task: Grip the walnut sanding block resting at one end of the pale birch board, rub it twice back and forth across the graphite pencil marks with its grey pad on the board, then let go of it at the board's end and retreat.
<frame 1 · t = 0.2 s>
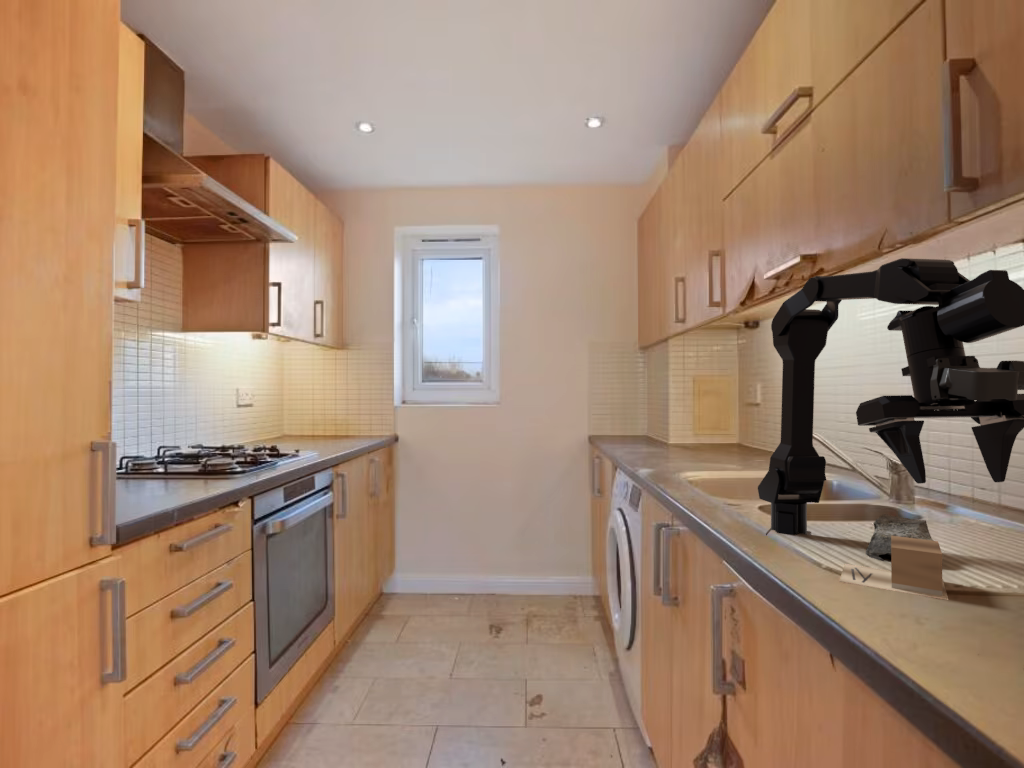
hand: (960, 482, 65), 15 cm above the countertop, tool pointing down, fingers open, 9 cm apart
sanding block: (915, 583, 71), point 1 cm above the countertop, touching birch board
birch board: (891, 589, 72), on the countertop
rock: (899, 564, 84), on the countertop
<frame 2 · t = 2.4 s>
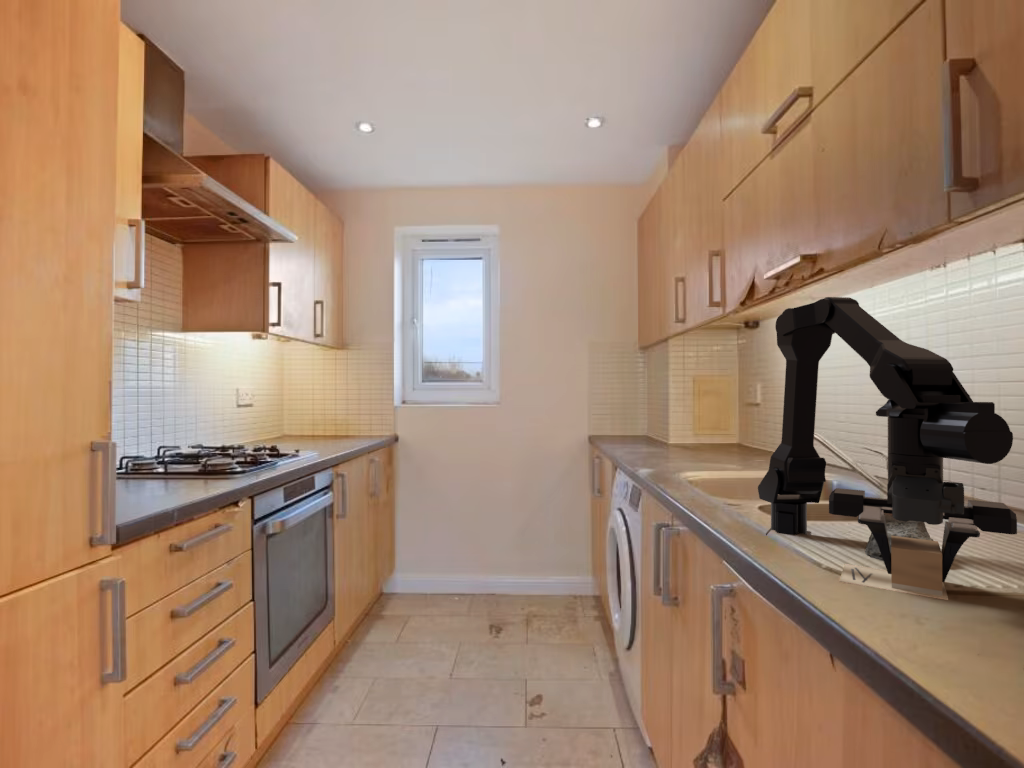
hand: (915, 577, 71), 2 cm above the countertop, tool pointing down, fingers closed on sanding block, 5 cm apart
sanding block: (915, 583, 71), point 1 cm above the countertop, touching birch board, gripper
everything else where it was.
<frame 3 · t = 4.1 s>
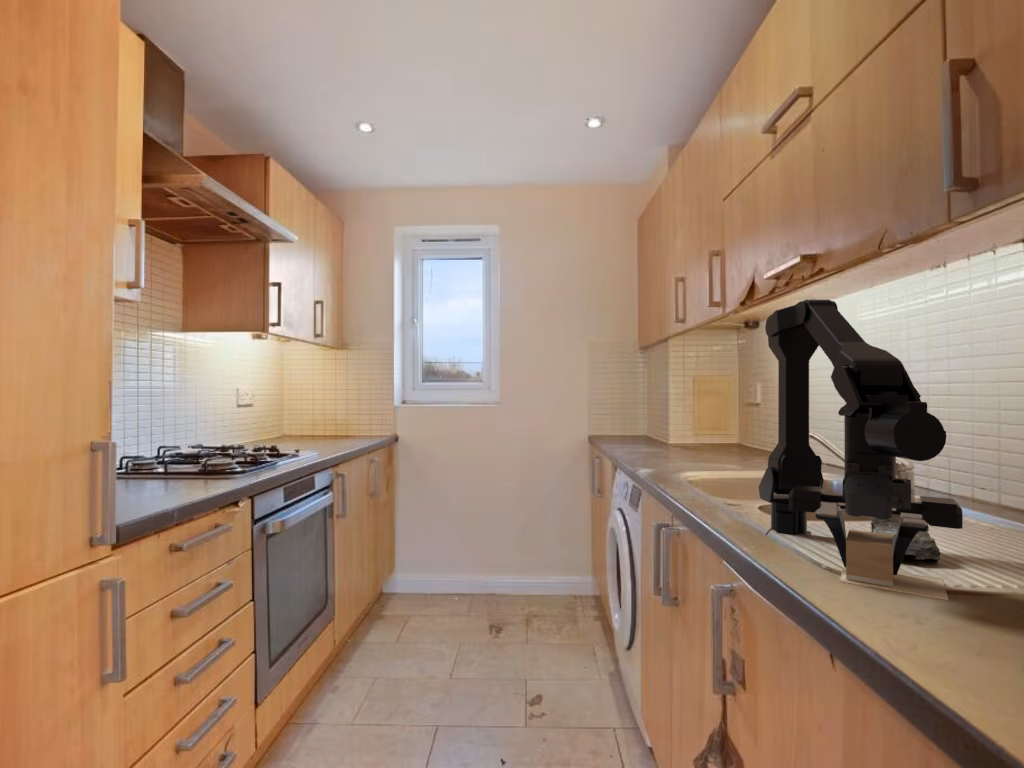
hand: (869, 570, 73), 2 cm above the countertop, tool pointing down, fingers closed on sanding block, 5 cm apart
sanding block: (870, 575, 73), point 1 cm above the countertop, touching gripper
everything else where it was.
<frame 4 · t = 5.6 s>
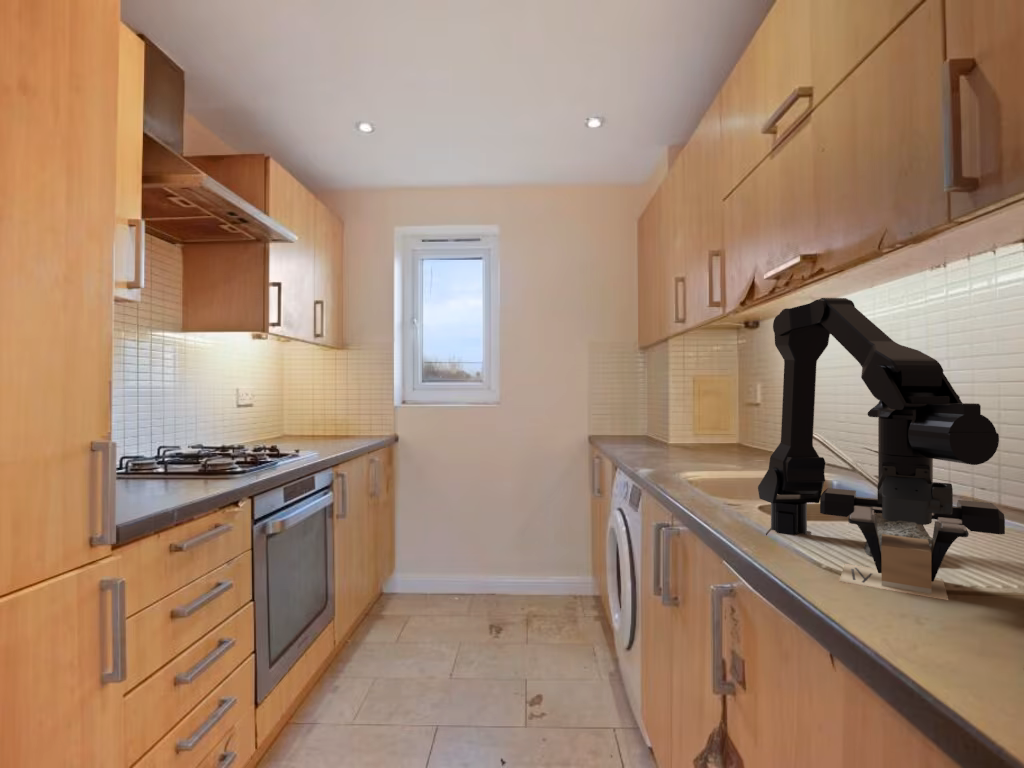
hand: (905, 576, 71), 2 cm above the countertop, tool pointing down, fingers closed on sanding block, 5 cm apart
sanding block: (905, 581, 71), point 1 cm above the countertop, touching gripper
everything else where it was.
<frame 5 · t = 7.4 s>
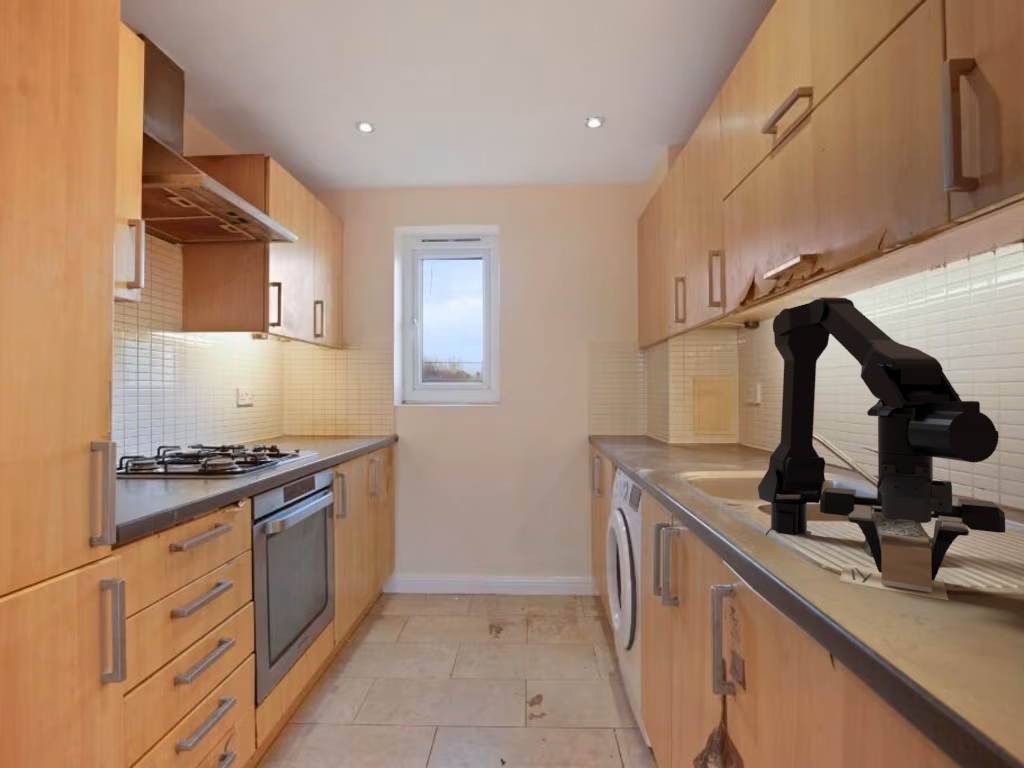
hand: (905, 575, 71), 2 cm above the countertop, tool pointing down, fingers closed on sanding block, 5 cm apart
sanding block: (905, 580, 71), point 1 cm above the countertop, touching gripper
when the fingers open (2 cm above the countertop, at t = 8.7 s): sanding block stays where it is, resting on birch board.
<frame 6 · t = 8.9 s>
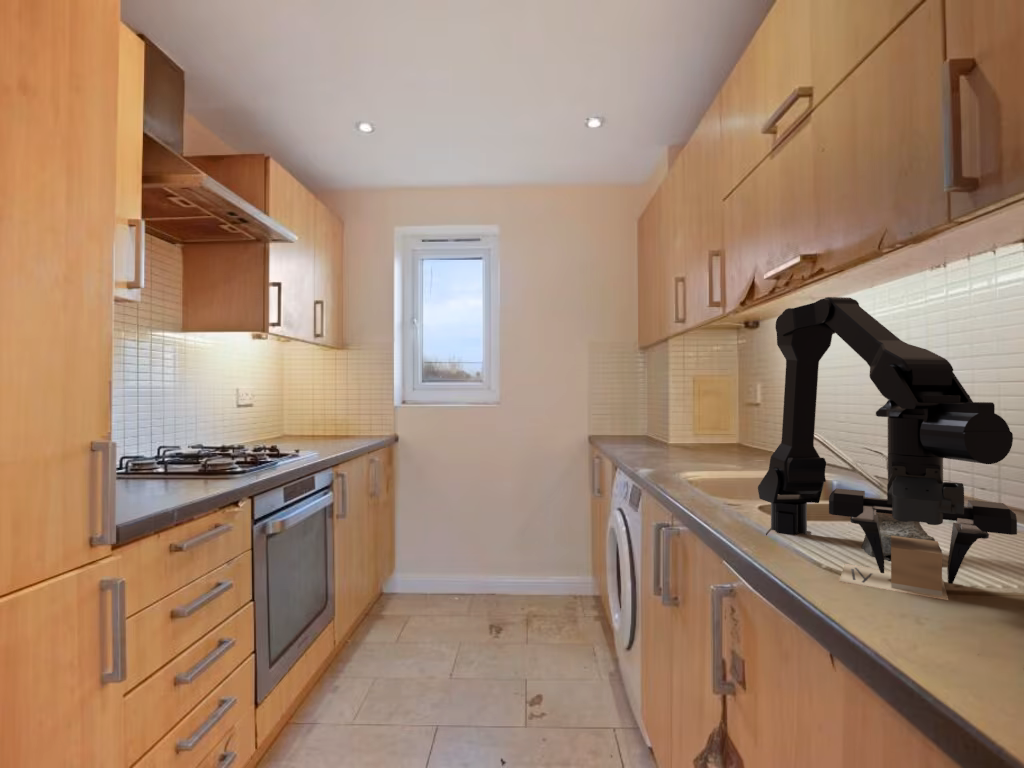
hand: (915, 577, 71), 2 cm above the countertop, tool pointing down, fingers open, 7 cm apart
sanding block: (915, 583, 71), point 1 cm above the countertop, touching birch board
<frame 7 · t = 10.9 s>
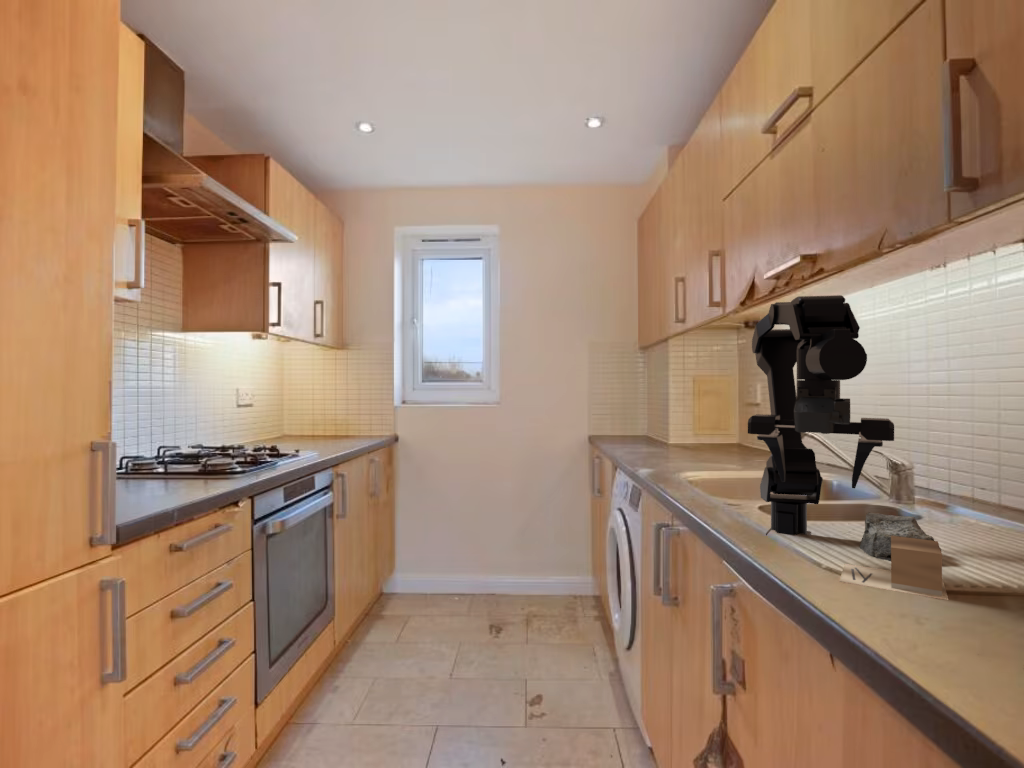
hand: (817, 484, 83), 12 cm above the countertop, tool pointing down, fingers open, 9 cm apart
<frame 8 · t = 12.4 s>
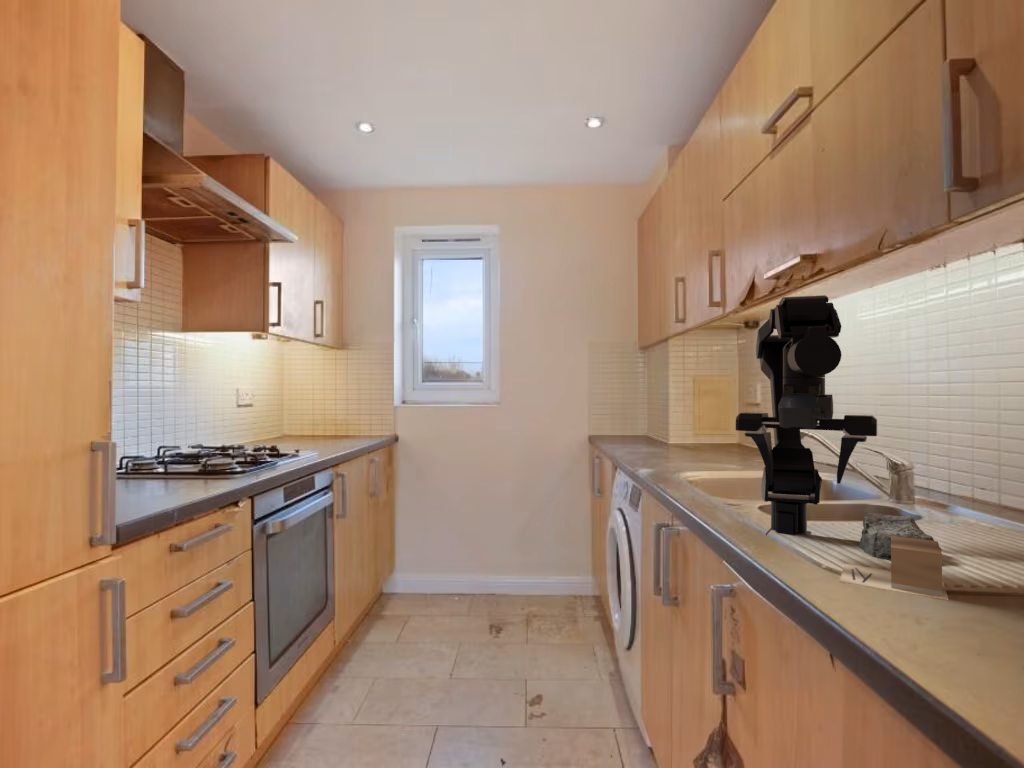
hand: (803, 480, 85), 12 cm above the countertop, tool pointing down, fingers open, 9 cm apart
at the end: sanding block 2.0 cm off-centre on the birch board, point 1.2 cm above the birch board's base; sanding block tilted 0°; the gripper is holding nothing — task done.
